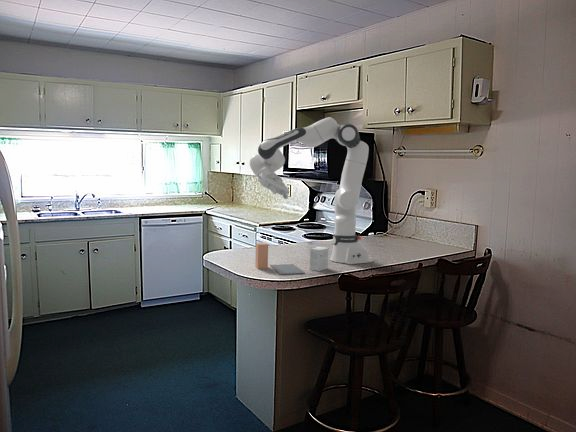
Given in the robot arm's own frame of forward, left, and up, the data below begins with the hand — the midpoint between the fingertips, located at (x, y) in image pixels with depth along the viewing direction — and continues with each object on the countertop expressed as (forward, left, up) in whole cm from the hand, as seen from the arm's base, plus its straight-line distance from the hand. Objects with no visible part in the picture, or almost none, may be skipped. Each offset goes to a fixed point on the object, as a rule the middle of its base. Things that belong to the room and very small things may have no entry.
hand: (281, 195), depth 242 cm
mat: (-1, +12, -35) cm, 37 cm away
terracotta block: (+10, +5, -35) cm, 37 cm away
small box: (-17, +13, -35) cm, 41 cm away
